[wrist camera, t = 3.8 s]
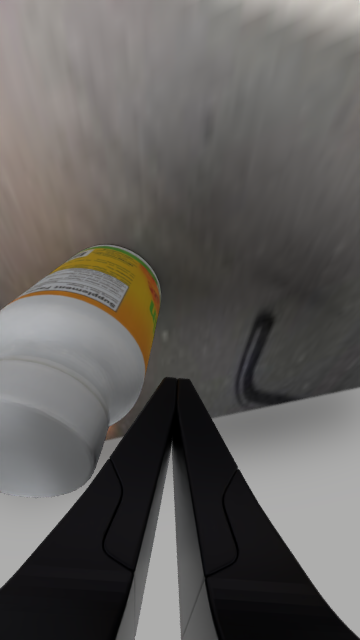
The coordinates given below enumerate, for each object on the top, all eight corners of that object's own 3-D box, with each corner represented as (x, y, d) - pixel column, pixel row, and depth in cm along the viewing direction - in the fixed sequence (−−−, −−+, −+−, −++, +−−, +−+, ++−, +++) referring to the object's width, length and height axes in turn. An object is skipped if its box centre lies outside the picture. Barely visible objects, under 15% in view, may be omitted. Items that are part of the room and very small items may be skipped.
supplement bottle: (149, 340, 16) (106, 525, 8) (62, 317, 16) (-87, 492, 7) (173, 260, 14) (147, 408, 5) (70, 228, 13) (-155, 338, 4)
